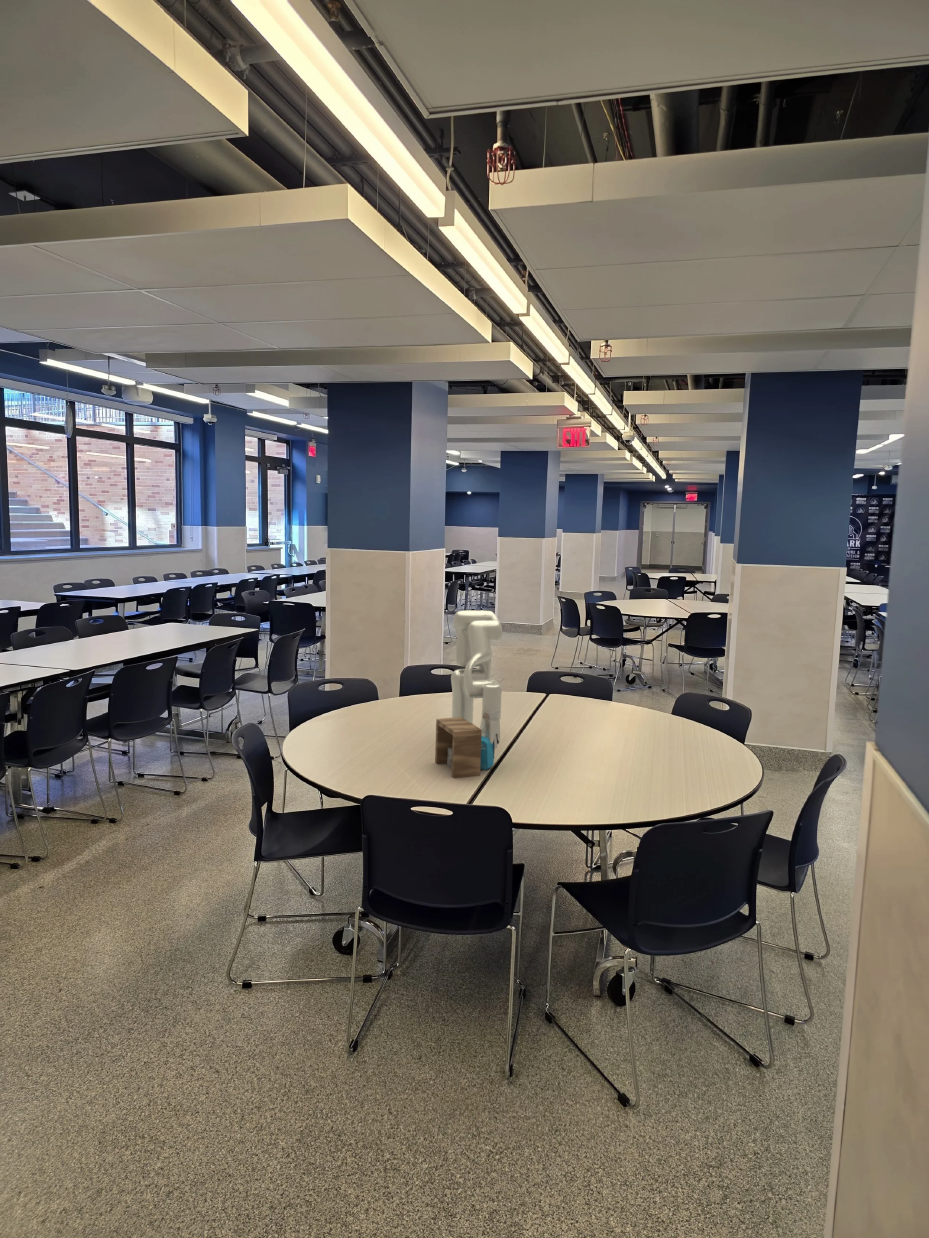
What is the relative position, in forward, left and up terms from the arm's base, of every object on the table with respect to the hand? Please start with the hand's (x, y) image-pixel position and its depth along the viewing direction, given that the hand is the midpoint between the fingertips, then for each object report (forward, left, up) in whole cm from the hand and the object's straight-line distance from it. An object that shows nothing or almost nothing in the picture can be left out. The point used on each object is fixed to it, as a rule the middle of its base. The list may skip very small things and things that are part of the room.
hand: (489, 759), depth 295 cm
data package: (0, -5, -3) cm, 5 cm away
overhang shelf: (0, -14, -3) cm, 14 cm away
